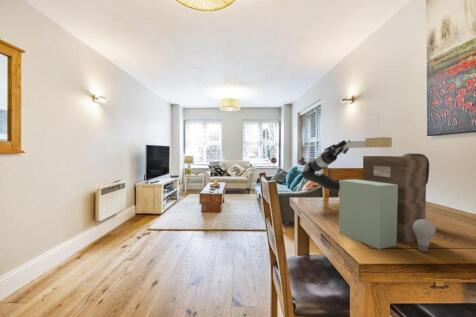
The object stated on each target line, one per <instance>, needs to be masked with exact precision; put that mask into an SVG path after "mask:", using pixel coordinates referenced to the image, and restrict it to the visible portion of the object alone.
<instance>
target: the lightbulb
mask: <svg viewBox="0 0 476 317" xmlns="http://www.w3.org/2000/svg"><path fill="white" fill-rule="evenodd" d="M412 228H413V231H414V233H415V234H416V237H417V241H416V242H417V244H418V246H417V247H418V250H419V251H421V252H422V253H426V252H428V251H429V246H430V242H431V240H432V238H433V237H434V236H435V234H436V226H435V225H434V224H433V222H431V221H430V220H428V219H426V220H425V219H419V220H416V221H415V222H414V223H413V226H412Z"/></svg>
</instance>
